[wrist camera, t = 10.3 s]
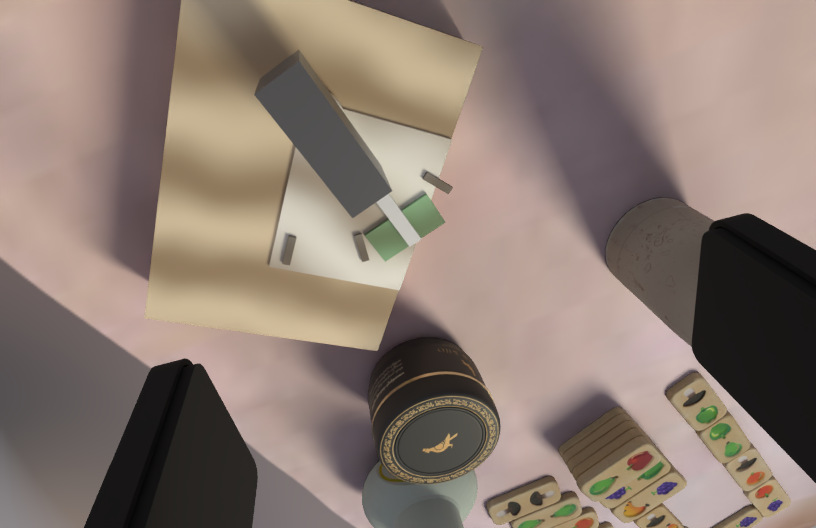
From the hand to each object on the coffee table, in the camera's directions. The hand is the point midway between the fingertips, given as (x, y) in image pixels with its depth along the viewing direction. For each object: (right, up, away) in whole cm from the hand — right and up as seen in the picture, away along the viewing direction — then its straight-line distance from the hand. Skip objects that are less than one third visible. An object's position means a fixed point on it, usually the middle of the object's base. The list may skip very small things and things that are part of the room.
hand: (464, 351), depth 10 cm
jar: (0, -8, +37) cm, 38 cm away
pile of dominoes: (+27, -26, +53) cm, 65 cm away
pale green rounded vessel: (0, -18, +42) cm, 46 cm away
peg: (-4, +8, +22) cm, 24 cm away
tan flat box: (-8, +8, +26) cm, 28 cm away
